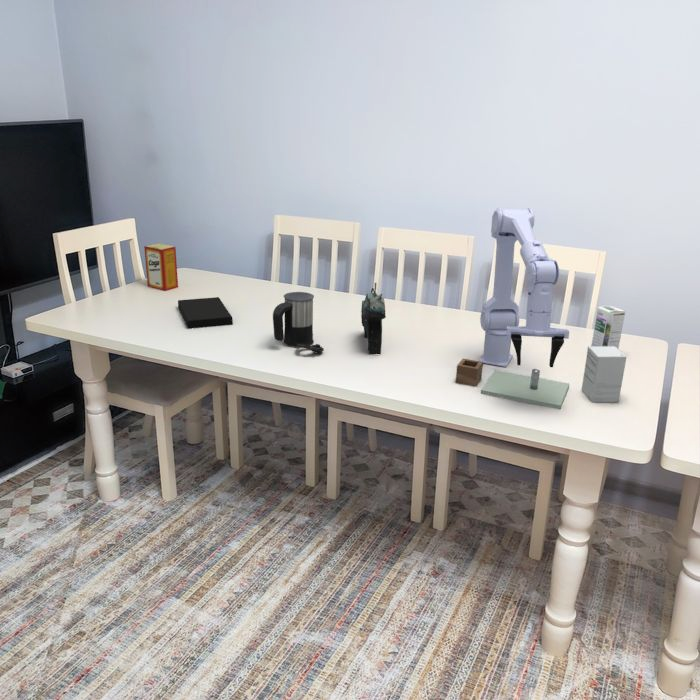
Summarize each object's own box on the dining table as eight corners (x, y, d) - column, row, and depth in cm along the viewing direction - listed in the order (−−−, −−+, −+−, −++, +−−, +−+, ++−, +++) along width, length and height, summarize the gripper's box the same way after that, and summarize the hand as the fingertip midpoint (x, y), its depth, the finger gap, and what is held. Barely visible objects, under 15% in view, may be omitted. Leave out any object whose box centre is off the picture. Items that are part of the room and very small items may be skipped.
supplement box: (608, 390, 181) (615, 345, 177) (619, 402, 174) (627, 356, 170) (580, 390, 181) (587, 345, 176) (590, 402, 174) (598, 356, 169)
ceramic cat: (385, 356, 200) (388, 290, 192) (362, 357, 199) (365, 290, 192) (377, 333, 218) (380, 272, 211) (357, 333, 218) (359, 272, 211)
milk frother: (293, 335, 215) (293, 289, 210) (338, 344, 209) (339, 297, 203) (268, 349, 203) (267, 301, 198) (315, 359, 197) (316, 310, 191)
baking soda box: (147, 286, 261) (144, 245, 255) (161, 283, 266) (157, 242, 260) (164, 291, 256) (161, 248, 250) (178, 287, 261) (175, 245, 256)
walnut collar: (461, 375, 188) (462, 358, 186) (481, 379, 186) (483, 362, 184) (455, 382, 183) (457, 365, 182) (476, 386, 181) (477, 369, 180)
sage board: (494, 373, 190) (494, 369, 190) (568, 386, 183) (569, 383, 182) (480, 393, 177) (481, 389, 177) (560, 409, 170) (560, 405, 169)
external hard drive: (188, 329, 218) (187, 320, 217) (178, 308, 238) (177, 300, 237) (232, 325, 223) (232, 317, 222) (219, 305, 243) (219, 297, 242)
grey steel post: (530, 386, 180) (532, 368, 178) (538, 387, 179) (540, 369, 178) (529, 388, 178) (531, 371, 177) (536, 390, 178) (539, 372, 176)
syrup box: (589, 352, 207) (596, 306, 202) (604, 350, 209) (612, 304, 204) (602, 359, 202) (610, 312, 197) (618, 356, 204) (626, 310, 199)
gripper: (508, 312, 163) (505, 367, 166) (572, 315, 160) (567, 371, 163) (507, 307, 169) (504, 360, 173) (568, 309, 167) (564, 363, 170)
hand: (534, 365), depth 168 cm, fingers open, 7 cm apart
